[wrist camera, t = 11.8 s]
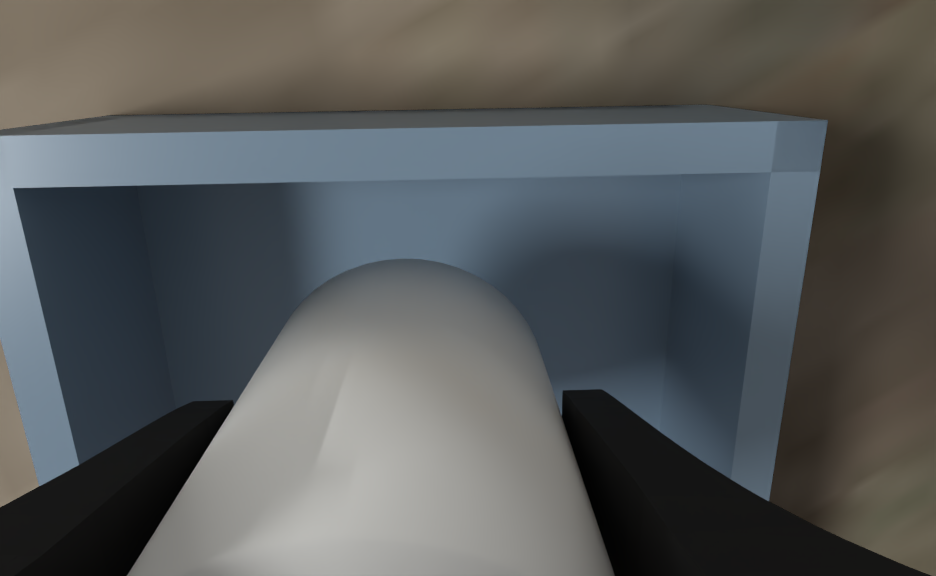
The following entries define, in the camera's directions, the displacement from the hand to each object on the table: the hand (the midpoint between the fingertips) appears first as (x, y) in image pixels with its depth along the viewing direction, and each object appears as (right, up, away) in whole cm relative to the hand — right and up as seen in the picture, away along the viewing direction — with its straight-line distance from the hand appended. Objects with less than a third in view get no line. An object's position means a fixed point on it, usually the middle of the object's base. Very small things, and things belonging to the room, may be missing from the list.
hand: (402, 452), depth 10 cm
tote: (0, -2, +7) cm, 8 cm away
